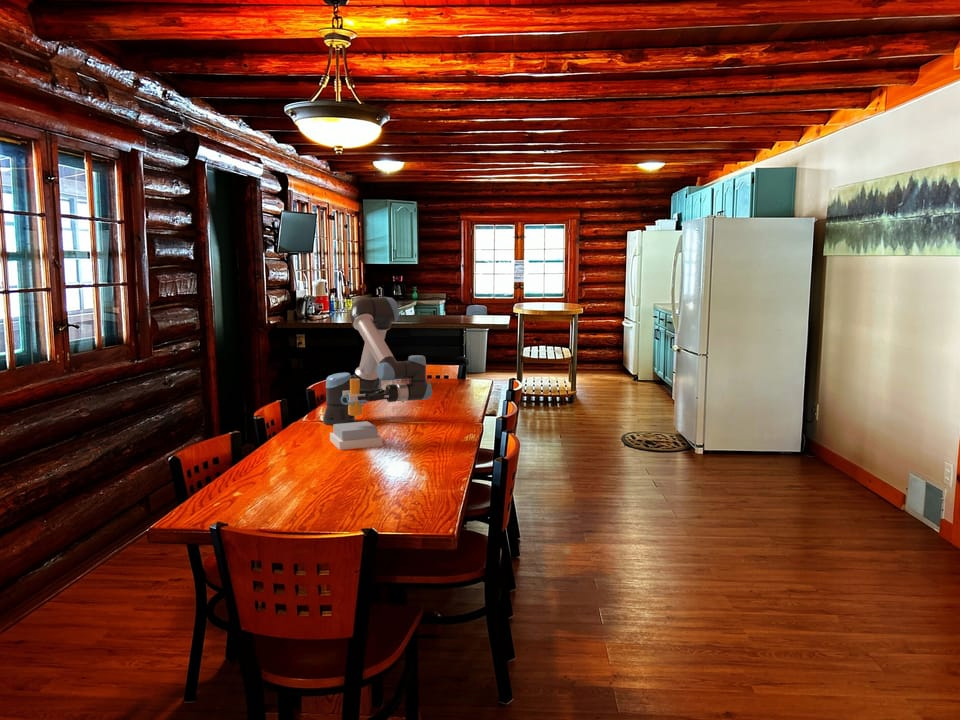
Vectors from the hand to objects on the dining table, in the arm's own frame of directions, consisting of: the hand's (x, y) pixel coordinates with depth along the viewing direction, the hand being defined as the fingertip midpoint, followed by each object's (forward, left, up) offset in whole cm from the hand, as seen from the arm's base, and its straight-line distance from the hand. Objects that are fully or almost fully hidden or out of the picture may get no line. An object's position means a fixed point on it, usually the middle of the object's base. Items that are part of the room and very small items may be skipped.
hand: (346, 396), depth 301 cm
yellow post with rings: (0, +4, -8) cm, 9 cm away
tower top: (0, +4, -17) cm, 17 cm away
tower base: (0, +4, -21) cm, 21 cm away
